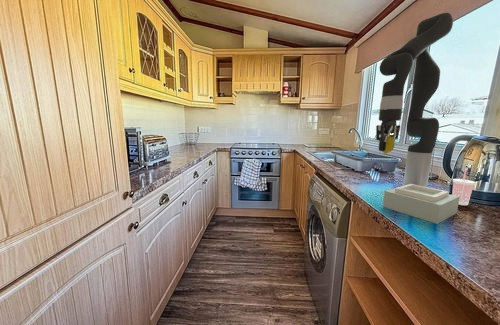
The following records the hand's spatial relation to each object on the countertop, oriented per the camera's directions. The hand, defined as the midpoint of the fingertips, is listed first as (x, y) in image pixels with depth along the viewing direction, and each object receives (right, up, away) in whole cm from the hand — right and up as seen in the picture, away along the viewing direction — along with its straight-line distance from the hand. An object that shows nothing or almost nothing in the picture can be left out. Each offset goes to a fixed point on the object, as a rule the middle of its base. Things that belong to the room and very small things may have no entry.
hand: (385, 150), depth 88 cm
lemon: (0, -2, 0) cm, 2 cm away
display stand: (+4, -22, -12) cm, 25 cm away
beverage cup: (+25, -21, -5) cm, 33 cm away
